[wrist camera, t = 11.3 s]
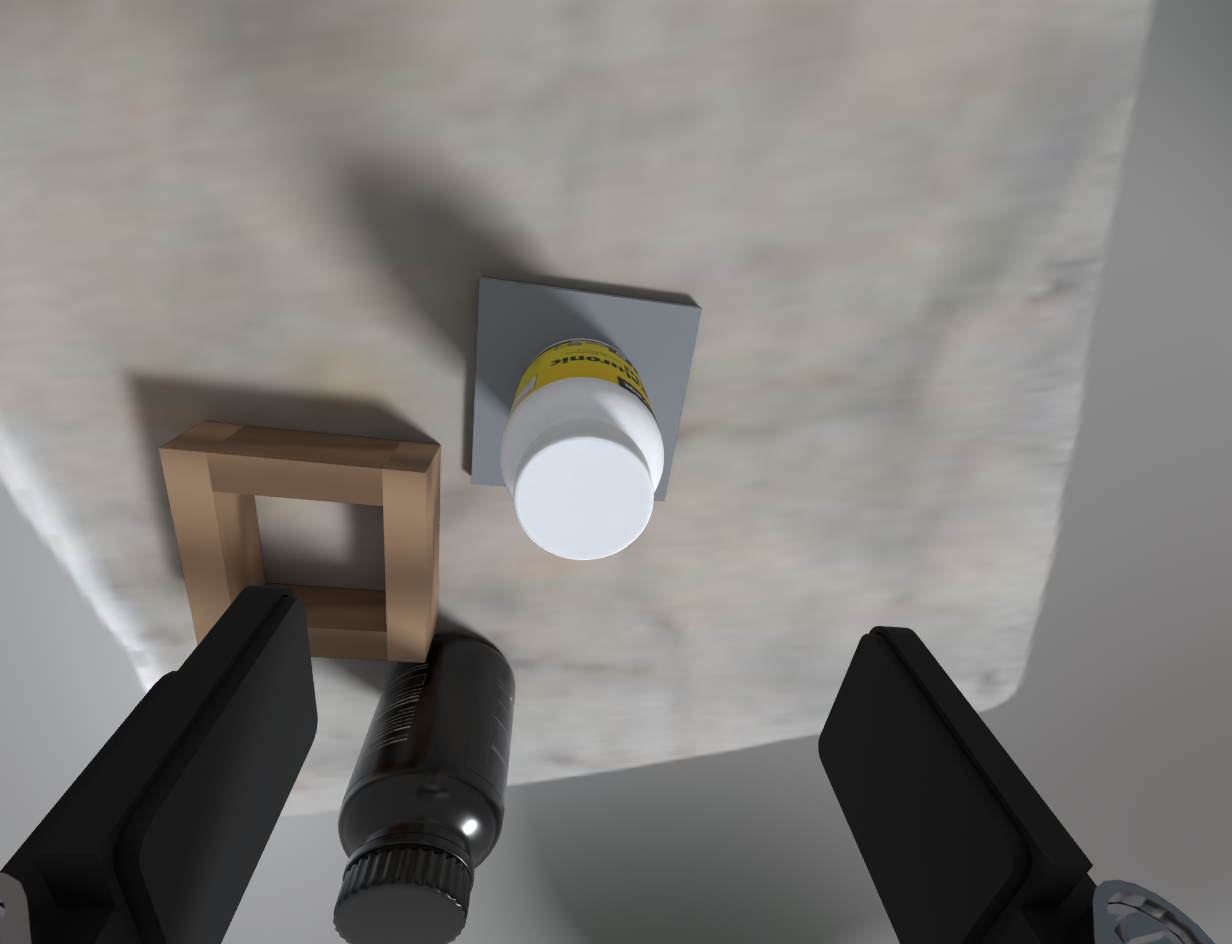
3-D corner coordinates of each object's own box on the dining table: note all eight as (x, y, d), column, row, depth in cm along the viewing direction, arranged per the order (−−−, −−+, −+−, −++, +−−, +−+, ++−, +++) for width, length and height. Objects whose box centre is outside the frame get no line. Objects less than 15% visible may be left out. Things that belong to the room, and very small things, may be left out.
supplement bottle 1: (402, 728, 33) (321, 981, 23) (380, 634, 31) (275, 873, 20) (523, 720, 34) (500, 966, 23) (512, 626, 31) (480, 856, 20)
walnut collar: (202, 421, 25) (158, 448, 22) (440, 444, 26) (425, 472, 24) (233, 608, 29) (198, 650, 27) (437, 621, 30) (424, 663, 28)
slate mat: (481, 276, 23) (479, 278, 23) (699, 306, 25) (701, 308, 24) (473, 477, 27) (471, 483, 27) (662, 495, 28) (664, 501, 28)
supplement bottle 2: (666, 372, 25) (716, 467, 16) (605, 473, 27) (621, 609, 18) (552, 310, 24) (539, 376, 15) (496, 422, 25) (455, 540, 17)
